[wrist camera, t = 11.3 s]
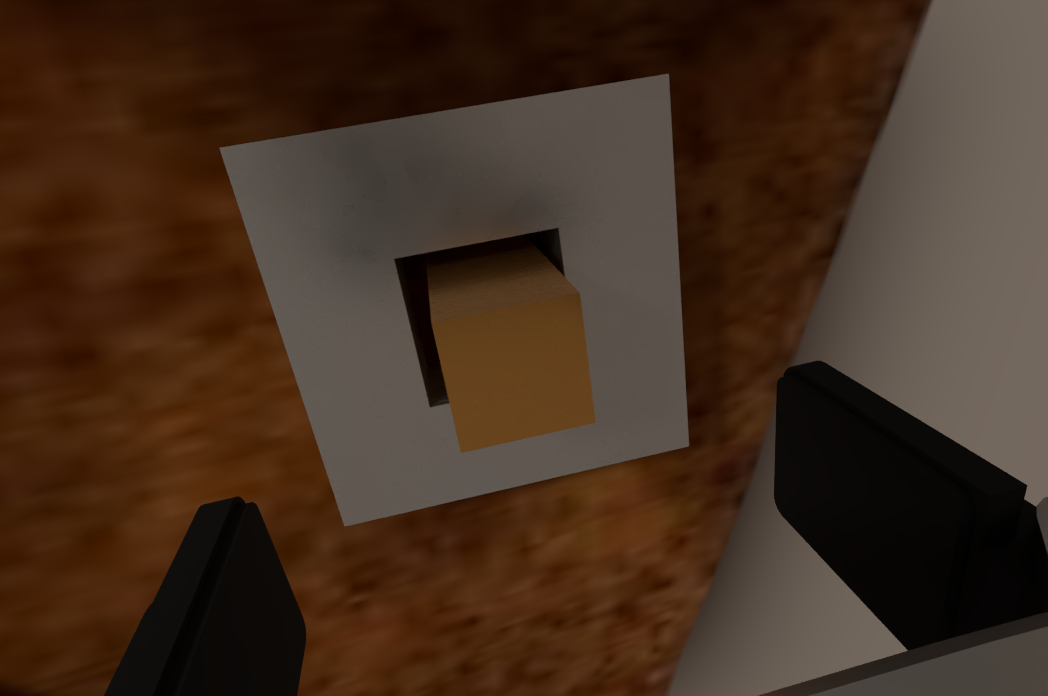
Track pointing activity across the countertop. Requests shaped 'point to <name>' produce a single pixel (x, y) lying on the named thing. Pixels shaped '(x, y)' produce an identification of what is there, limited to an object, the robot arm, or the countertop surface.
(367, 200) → the white flat block
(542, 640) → the countertop surface
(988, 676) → the robot arm
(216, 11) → the countertop surface
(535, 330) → the wooden block
